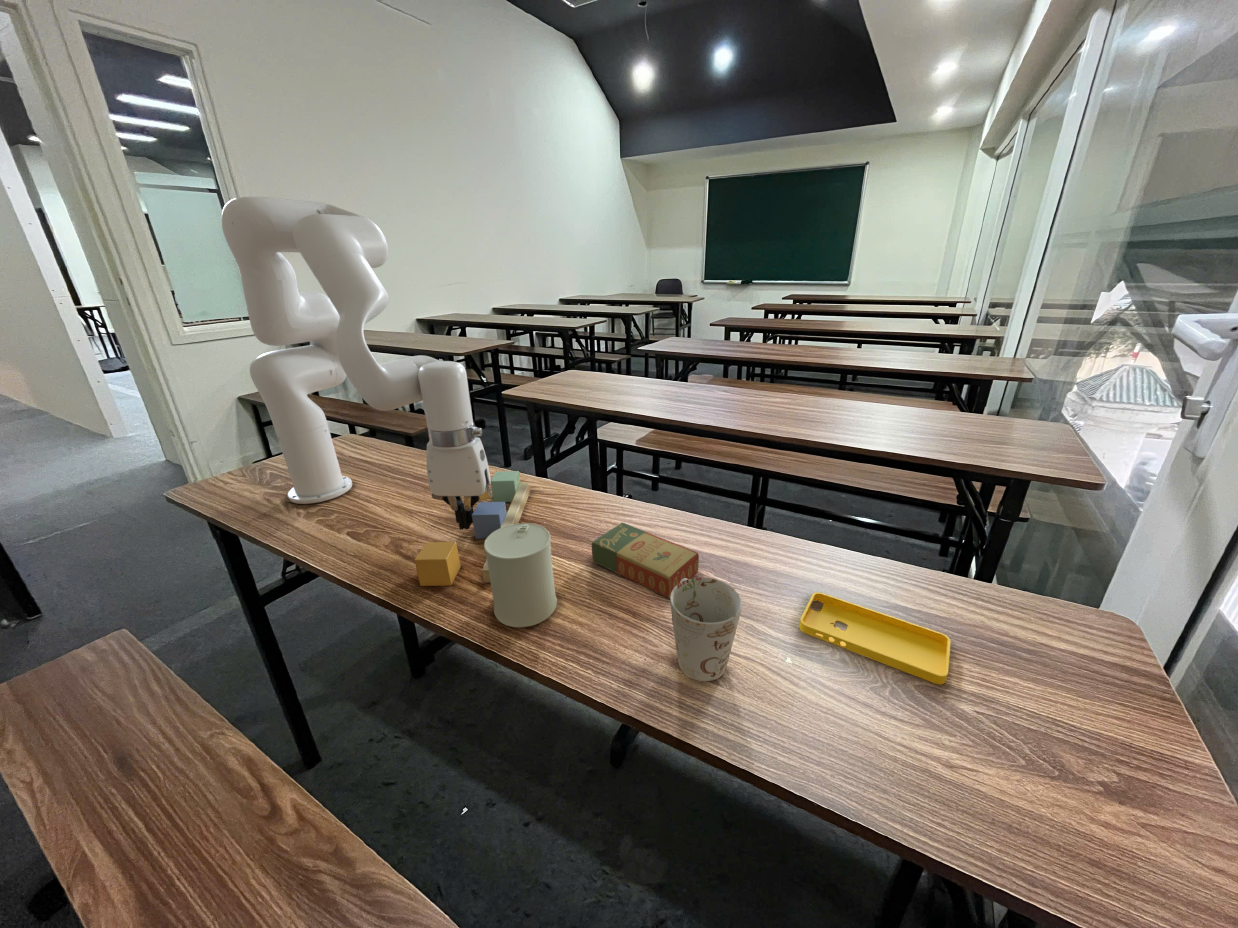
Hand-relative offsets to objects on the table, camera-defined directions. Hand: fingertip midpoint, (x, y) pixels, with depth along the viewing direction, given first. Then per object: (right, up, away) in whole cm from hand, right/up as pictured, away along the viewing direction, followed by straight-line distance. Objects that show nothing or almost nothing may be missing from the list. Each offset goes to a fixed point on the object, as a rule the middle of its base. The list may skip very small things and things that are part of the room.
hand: (466, 525), depth 90 cm
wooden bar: (+8, -1, +1) cm, 8 cm away
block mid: (+5, -1, +1) cm, 5 cm away
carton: (+33, -6, -11) cm, 35 cm away
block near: (0, -7, -12) cm, 14 cm away
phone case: (+62, -12, -27) cm, 69 cm away
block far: (+5, +5, +14) cm, 15 cm away
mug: (+39, -13, -28) cm, 50 cm away
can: (+15, -10, -19) cm, 26 cm away
